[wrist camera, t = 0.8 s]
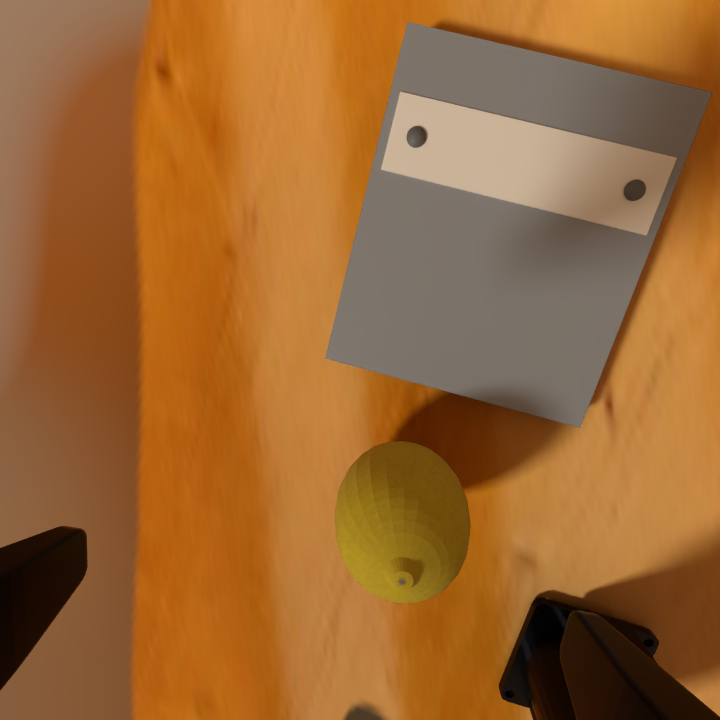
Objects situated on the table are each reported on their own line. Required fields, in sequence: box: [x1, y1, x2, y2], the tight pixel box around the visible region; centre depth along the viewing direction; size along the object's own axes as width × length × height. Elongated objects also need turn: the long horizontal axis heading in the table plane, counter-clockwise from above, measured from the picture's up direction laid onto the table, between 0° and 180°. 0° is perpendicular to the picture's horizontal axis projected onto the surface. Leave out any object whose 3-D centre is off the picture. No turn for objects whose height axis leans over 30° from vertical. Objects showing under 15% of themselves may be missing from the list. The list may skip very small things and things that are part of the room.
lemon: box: [335, 441, 470, 604], centre depth 16 cm, size 6×6×8 cm
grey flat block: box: [326, 22, 712, 428], centre depth 17 cm, size 14×12×2 cm
